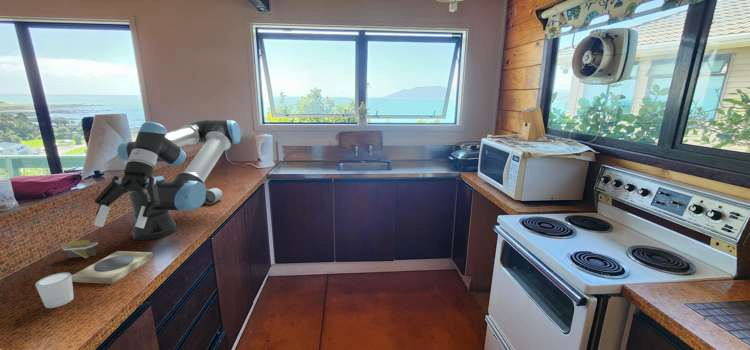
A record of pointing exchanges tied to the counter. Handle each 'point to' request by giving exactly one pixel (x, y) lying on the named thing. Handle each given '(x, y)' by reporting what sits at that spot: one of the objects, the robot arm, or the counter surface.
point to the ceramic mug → (213, 195)
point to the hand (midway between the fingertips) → (118, 226)
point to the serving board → (112, 267)
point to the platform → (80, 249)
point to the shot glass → (55, 289)
